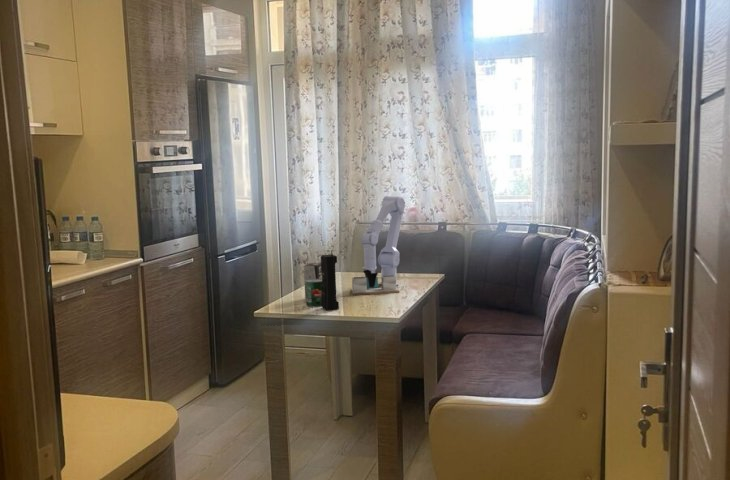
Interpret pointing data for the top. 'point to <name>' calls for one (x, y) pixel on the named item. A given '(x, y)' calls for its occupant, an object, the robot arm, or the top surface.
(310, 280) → the canned tomato
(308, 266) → the coffee box
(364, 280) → the board
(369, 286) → the module
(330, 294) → the portable radio
